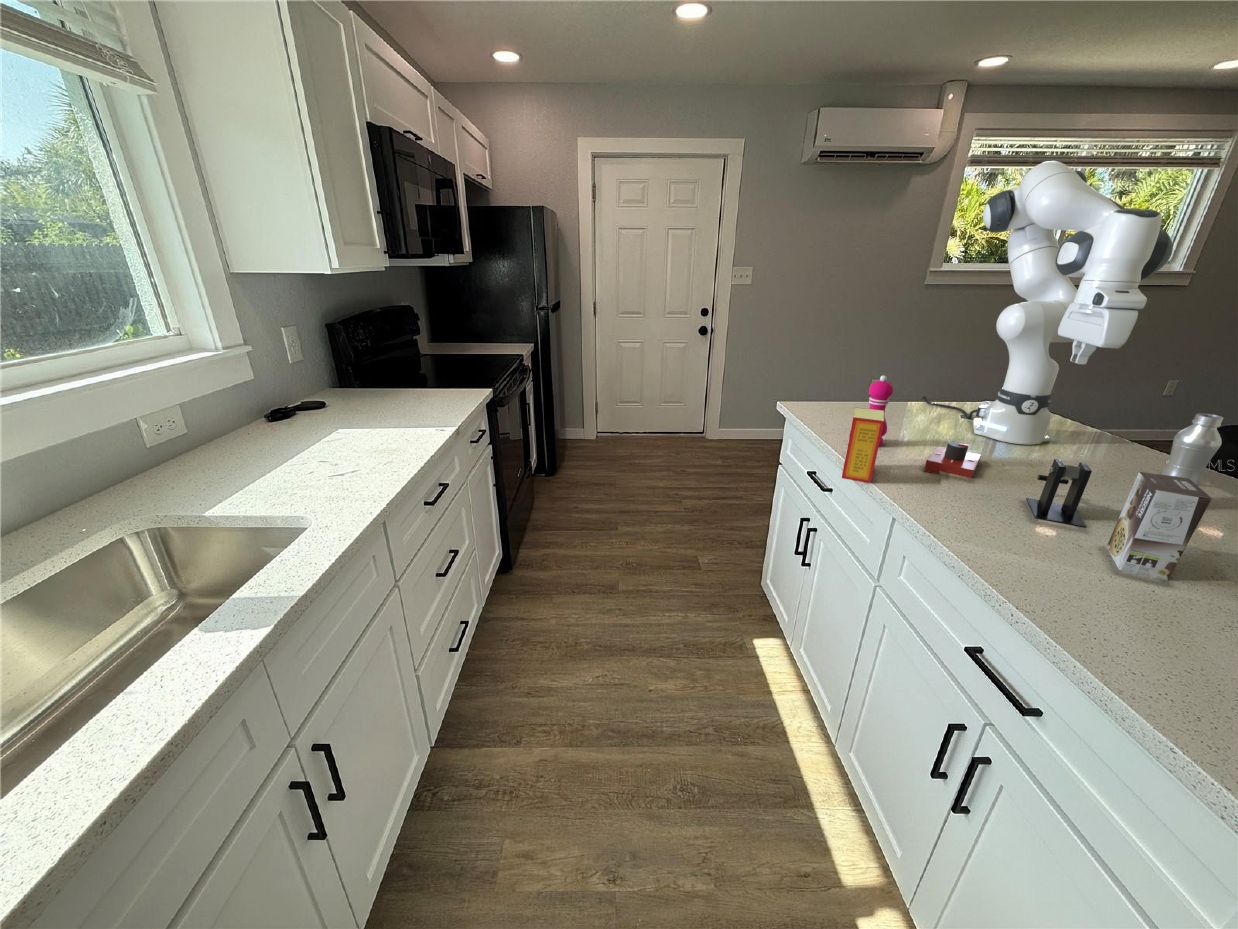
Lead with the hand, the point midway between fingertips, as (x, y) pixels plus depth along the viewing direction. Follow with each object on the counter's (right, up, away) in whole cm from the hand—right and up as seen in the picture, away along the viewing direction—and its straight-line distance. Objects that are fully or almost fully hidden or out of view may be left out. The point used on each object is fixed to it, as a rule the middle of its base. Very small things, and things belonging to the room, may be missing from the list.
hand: (1077, 363), depth 106 cm
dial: (-14, -20, +18) cm, 31 cm away
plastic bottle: (+21, -31, +1) cm, 37 cm away
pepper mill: (-26, -16, +37) cm, 48 cm away
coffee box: (-9, -40, -20) cm, 46 cm away
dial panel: (-14, -23, +20) cm, 33 cm away
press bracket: (-9, -33, -4) cm, 34 cm away
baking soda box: (-40, -25, +17) cm, 50 cm away
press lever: (-8, -26, -4) cm, 27 cm away
